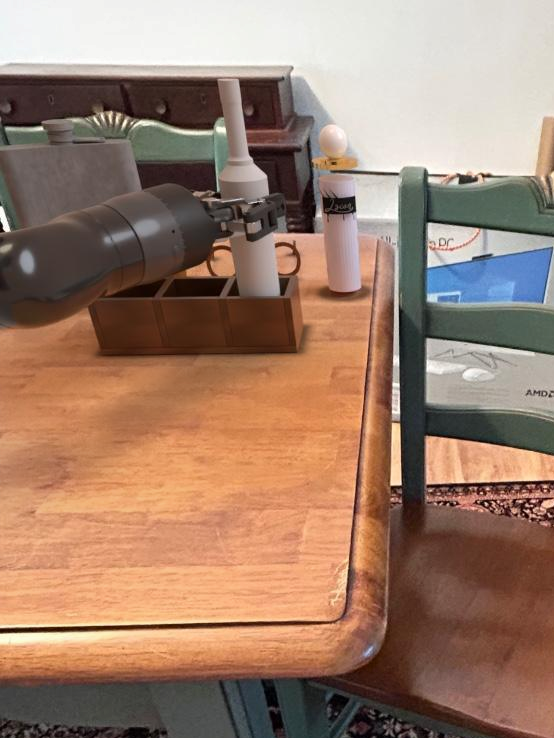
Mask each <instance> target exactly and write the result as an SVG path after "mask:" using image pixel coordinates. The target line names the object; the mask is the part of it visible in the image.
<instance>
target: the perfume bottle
mask: <svg viewBox="0 0 554 738" xmlns="http://www.w3.org/2000/svg"><path fill="white" fill-rule="evenodd" d="M317 139H318V147H319V149H320V151H321V153H322V154H323V155H322V156H319V157H314V158H312V159H311V167H312V168H314V169H317V170H323V171H346V170H351V169H355V168H357V167H358V166H359V161H358V158H356V157H353V156H347V155H345V154H346V152H347V151H348V148H349V147H348V146H349V140H348V135H347V134H346V131H345V130H344V129H343V128H342V127H341V126H339V125H337V124H334V123H329V124H327V125H325V126H324V127H322V129H320V132H319V134H318V138H317ZM317 180H318V190H319V201H320V212H321V221H322V231H323V242H324V252H325V253H324V254H325V262H326V263H325V264H326V273H327V284H328V289H329V290H330V291H333V292H337V293H350V292H356V291H358V290H360V289H362V275H361V274H362V273H361V262H360V261H361V260H360V246H359V231H358V217H357V199H356V188H355V177H354V176H352V175H349V174H338V173H337V174H336V173H334V174H325V175H321V176H319V177H318V179H317Z"/></svg>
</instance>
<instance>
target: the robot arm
mask: <svg viewBox="0 0 554 738" xmlns="http://www.w3.org/2000/svg"><path fill="white" fill-rule="evenodd" d="M233 205H235V206H236V212H237V218H238V219H236V218H235V212H234V209H233V208H232V207H231V206H233ZM251 207H254V208H252V209H250V210H248V209H249V208H251ZM286 214H287V203H286V198H285V194H284V193H281V192H274V193H271V194H269V195H268V196H264V197H261V198H257V199H251V200H246V199H244V198H241V197H238V196H236V197H230V198H223V199H221V193H220V190H219V191H216V192H215V191H212V190H206V191H199V190H195V189H187V188H186V187H184V186H182V185H180V184H177V183H172V182H171V183H170V182H169V183H163V184H159V185H155V186H152V187H147V188H144V189H142V190H140V191H136V192H132V193H128V194H124V195H120V196H117V197H114V198H111V199H109V200H107V201H105V202H103V203H101V204H98V205H95V206H91V207H87V208H84V209H80V210H76V211H73V212H69V213H65V214H63V215H60V216H58V217H56V218H54V219H52V220H51V221H49V222H48V223H47V224H44V225H39V226H35V227H30V228H25V229H21V228H20V229H15V230H10V231H3V232H0V331H7V330H10V331H11V330H36V329H42V328H45V327H46V328H47V327H49V326H52V325H54V324H58V323H60V322H63V321H65V320H68V319H69V318H71V317H73V316H75V315H77V314H79V313H80V312H82V311H83V310H85V309H87V308H88V306H89V305H91V304H93V303H94V302H95V301H96V300H98V299H99V298H103V297H107V296H110V295H113V294H116V293H118V292H121V291H124V290H126V289H129V288H132V287H134V286H138V285H143V284H149V283H153V282H156V281H158V280H161V279H164V278H166V277H169V276H172V275H174V274H177V273H180V272H182V271H185V270H186V271H187V270H190V269H193V268H195V267H198V266H200V265H202V264H204V263H206V259H207V258H208V257H209V255H210V252H211V249H212V247H213V246H214V244H218V243H225V242H227V241H229V238H232V237H237V236H243V235H246V241H250V242H255V241H258V240H259V239H261V238H263V237H265V236H266V235H268V234H270V233H271V232H273V233H274V232H275V231H277V230H278V229H279V222H278V219H279V218H282V217H284V216H286Z"/></svg>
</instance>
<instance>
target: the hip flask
mask: <svg viewBox="0 0 554 738" xmlns="http://www.w3.org/2000/svg"><path fill="white" fill-rule="evenodd" d="M73 121H74V120H72V119H68V118H67V119H66V118H57V119H46V120H43V121H41V122H40V123H41V126H42V130H43V131H45V132H46V131H47V133H46V135H47V140H48V141H49V142H47V141H46V142H34V143H21V144H10V145H8V144H7V145H1V146H0V173H1V175H2V178H3V179H2V180H3V182H4V184H5V188H6V190H7V194H8V196H9V198H10V199H9V200H10V201H11V205H12V207H13V210H14V213H15V216H16V219H17V222H18V226H19V228H20V229H25V228H30V227H35V226H39V225H44V224H47V223H48V222H49V221H51V220H52V219H54V218H56V217H58V216H60V215H63V214H65V213H69V212H73V211H76V210H80V209H84V208H87V207H91V206H95V205H98V204H101V203H103V202H105V201H107V200H109V199H111V198H114V197H117V196H120V195H124V194H128V193H132V192H136V191H140V190H143V189H142V184H141V180H140V176H139V172H138V168H137V163H136V159H135V155H134V151H133V147H132V143H131V140H130V139H127V138H109V139H108V138H107V139H106V137H104V136H103V137H102V136H101V137H99V136H98V137H97V136H76V133H74V132H73V130H74V129H75V124H74V122H73Z"/></svg>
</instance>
